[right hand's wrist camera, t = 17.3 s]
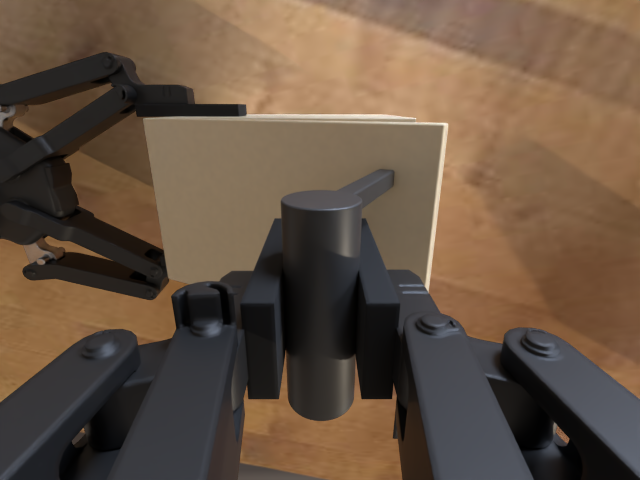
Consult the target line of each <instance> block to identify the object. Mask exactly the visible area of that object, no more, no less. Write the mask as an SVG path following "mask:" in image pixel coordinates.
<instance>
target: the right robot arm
mask: <svg viewBox="0 0 640 480" xmlns="http://www.w3.org/2000/svg"><path fill="white" fill-rule="evenodd" d="M171 298H172V304H173V310H174V316H175V323H176V331H175V333H174V335H173V337H172V338H171V339H167V340H163V341H159V342H154V343H148V344H143V345H138V342H137V337H136V335H135V334H134V333H132V332H131V331H128V330H124V329H113V330H112V329H110V330H104V331H100V332H96V333H94V334H92V335H90V336H87V337H85V338H83V339H81V340H80V341H78V342H77V343H75V344H73V345H72V346H71V347H69V348H68V349H67V350H66V351H64V352H63V353H62V354H61V355H59V356H58V357H57V358H56V359H54V360H53V361H52V362H51V363H49V364H48V365H47V366H46V367H44V368H43V369H42V370H41V371H39V372H38V373H37V374H36V375H34V376H33V377H32V378H30V379H29V380H28V381H27V382H25V383H24V384H23V385H22V386H20V387H19V388H18V389H17V390H15V391H14V392H13V393H12V394H10V395H9V396H8V397H7V398H5V399H4V400H3V401H2V402H0V480H238V471H239V462H240V453H241V444H242V435H243V426H244V417H245V411H244V400H243V397H244V394H245V390H246V386H247V388H248V399H279V394H280V387H281V380H282V373H283V365H284V358H285V351H286V333H285V306H284V279H283V252H282V225H281V218H275V219H274V221H273V224H272V226H271V229H270V231H269V234H268V236H267V238H266V241H265V243H264V246H263V248H262V251H261V253H260V256H259V258H258V261H257V263H256V265H255V268H254V270H253V271H231V272H229V273H228V274H226V275H225V276H223V277H222V278H221V279H220V281H204V282H196V283H193V284H190V285H187V286H184V287H182V288H181V289H179V290H177V291H176V292H175V293H174V294H173V295H172V296H171ZM355 355H356V362H357V370H358V377H359V384H360V391H361V398H362V399H392V393H393V383H394V386H395V390H396V394H397V400H396V411H395V422H394V432H393V438H394V439H398V443H399V452H400V461H401V470H402V479H403V480H640V399H639V398H637V397H636V396H635V395H633V394H632V393H631V392H630V391H628V390H627V389H626V388H625V387H623V386H622V385H621V384H620V383H618V382H617V381H616V380H614V379H613V378H612V377H611V376H609V375H608V374H607V373H606V372H604V371H603V370H602V369H600V368H599V367H598V366H597V365H595V364H594V363H593V362H592V361H590V360H589V359H588V358H587V357H585V356H584V355H583V354H581V353H580V352H579V351H578V350H576V349H575V348H574V347H573V346H571V345H570V344H569V343H567V342H566V341H564V340H562V339H561V338H559V337H558V336H555V335H553V334H550V333H548V332H546V331H544V330H540V329H536V328H515V329H510V330H509V331H508V332H507V333H505V335H504V340H503V344H500V343H495V342H490V341H485V340H480V339H476V338H472V337H469V336H467V335H466V332H465V330H464V328H463V327H462V326H461V325H460V323H459V322H458V321H456V320H455V319H453V318H451V317H450V316H447V315H444V314H441V313H440V311H439V310H438V308H437V306H436V304H435V303H434V301H433V299H432V298H431V296H430V294H428V291H427V289H426V287H424V284H423V282H422V280H421V279H420V277H419V276H418V275H416V274H415V273H413V272H412V271H410V270H387V269H386V267H385V264H384V262H383V259H382V257H381V255H380V252H379V250H378V247H377V245H376V242H375V240H374V237H373V235H372V232H371V230H370V228H369V225H368V223H367V220H366V218H362V223H361V246H360V268H359V276H358V300H357V324H356V348H355ZM557 425H558V426H559V428H560V429H561V430H562V431H563V432H564V433H565V434H566V435H567V436H568V437H569V439H570V440H569V443H568V444H567V443H565V442H564V441H563V440H562V439H561V438H560V437H559V436H558V434H557V433H556V429H557ZM83 427H84V430H85V435H84V436H83V437H82V438H81V439H80V440H79V441H78V442H77V443H76V444H75V445H73V444H72V440H73V439H74V437H75V436H76V435H77V434H78V433H79V432H80V431H81V430H82V429H83Z"/></svg>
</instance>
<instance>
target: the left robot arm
mask: <svg viewBox="0 0 640 480" xmlns="http://www.w3.org/2000/svg"><path fill="white" fill-rule="evenodd" d="M108 83H112V85H111V86H112V87H114V88H113V89H111V90H110V91H108V92H107V93H105V94H104V95H102V96H101V97H99V98H98V99H96V100H95V101H93V102H92V103H90V104H89V105H87V106H86V107H84V108H83V109H81V110H80V111H78V112H77V113H75V114H74V115H72V116H71V117H69V118H68V119H66V120H65V121H63V122H62V123H60V124H59V125H57V126H56V127H54V128H53V129H51V130H50V131H48V132H47V133H45V134H44V135H42V136H39V137H36V138H32V137H31V136H29V135H27V134H26V133H24V132H23V131H21V130H19V129H18V128H16V127H14V126H13V120H14V119H15V118H17V117H21V116H23V115H24V114H25V112H27V111H28V110H29V107H28V105H37V104H43V103H47V102H50V101H54V100H57V99H60V98H63V97H67V96H70V95H73V94H76V93H79V92H83V91H86V90H89V89H92V88H96V87H99V86H102V85H105V84H108ZM135 111H136V115H137V117H240V116H247V113H246V105H243V104H195V101H194V92H193V89H191V88H189V87H186V86H182V85H145V84H144V83H142V82H141V81H140V79H139V78H138V76H137V74H136V66H135V64H134V62H133V61H132V60H131V59H130V58H127V57H123V56H119V55H116V54H112V53H108V52H103V53H100V54H96V55H93V56H90V57H87V58H84V59H81V60H78V61H74V62H71V63H68V64H65V65H62V66H59V67H56V68H52V69H49V70H46V71H43V72H40V73H37V74H34V75H30V76H27V77H24V78H21V79H18V80H15V81H12V82H8V83H5V84H0V239H7V240H10V241H12V242H14V243H17V244H20V245H23V246H24V249H25V252H26V254H27V257H28V259H29V262H30V264H29V265H27V266H25V267H24V268H23V275H24V276H25V277H26V278H27V279H29V280H45V279H59V280H64V281H68V282H72V283H77V284H81V285H86V286H90V287H94V288H99V289H103V290H107V291H112V292H116V293H121V294H125V295H129V296H134V297H138V298H143V299H147V300H153V299H155V298H156V297H157V296H158V294H159V293H160V292H161V291H162V290H163V289H164V287H165V286H166V285H167V284H168V282H169V278H168V273H167V267H166V261H165V255H164V250H162V249H160V248H158V247H156V246H154V245H152V244H150V243H147V242H145V241H143V240H141V239H139V238H137V237H135V236H133V235H131V234H128V233H126V232H124V231H122V230H120V229H118V228H116V227H114V226H111V225H109V224H107V223H105V222H103V221H101V220H99V219H97V218H95V217H94V214H93V213H91V212H89V211H87V210H85V209H83V208H81V207H79V206H77V205H79V202H78V198H77V194H76V192H75V190H74V188H73V187H72V184H71V179H72V173H71V169H70V164H69V163H65V161H64V159H65V158H67V157H68V156H70V155H71V154H73V153H75V152H76V151H78V150H79V147H81V146H82V145H84V144H85V143H87V142H88V141H90V140H92V139H93V138H95V137H96V136H98V135H99V134H101V133H102V132H104V131H105V130H107V129H109V128H110V127H112V126H113V125H115V124H116V123H118V122H119V121H121V120H122V119H124V118H126V117H127V116H129V115H130V114H132V113H133V112H135ZM47 236H50V237H53V238H55V239H57V240H60V241H71V242H74V243H76V244H78V245H80V246H82V247H85V248H87V249H89V250H91V251H93V252H96V253H98V254H100V255H102V256H104V257H106V258H109V259H111V260H113V261H111V260H107V259H103V258H98V257H94V256H90V255H86V254H81V253H75V252H65V249H64V248H63V247H59V248H58V247H54V246H50V245H48V244H47V243H46V242H45V240H44V238H46V237H47Z"/></svg>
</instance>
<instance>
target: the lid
mask: <svg viewBox="0 0 640 480" xmlns="http://www.w3.org/2000/svg"><path fill="white" fill-rule="evenodd" d="M143 123H144V130H145V136H146V142H147V148H148V155H149V161H150V167H151V173H152V180H153V186H154V192H155V198H156V205H157V211H158V217H159V223H160V230H161V236H162V242H163V248H164V255H165V261H166V267H167V273H168V278H169V279H171V280H175V281H179V282H183V283H187V284H193V283H196V282H204V281H220V279H221V278H222V277H223V276H225V275H226V274H228V273H229V272H231V271H253V270H254V268H255V265H256V263H257V261H258V258H259V256H260V253H261V251H262V248H263V246H264V243H265V241H266V238H267V236H268V234H269V231H270V229H271V226H272V224H273V221H274V219H275V218H281V225H282V252H283V279H284V306H285V333H286V360H287V387H288V400H289V403H290V405H291V407H292V408H293V409H294V411H295V412H297V413H298V414H299V415H301V416H302V417H305V418H307V419H310V420H315V421H326V420H332V419H335V418H338V417H340V416H341V415H343V414H344V413H345V412H347V411H348V409H349V408H350V407H351V405H352V403H353V400H354V383H355V360H356V355H355V348H356V324H357V300H358V276H359V268H360V246H361V223H362V218H366V220H367V223H368V225H369V228H370V230H371V232H372V235H373V237H374V240H375V242H376V245H377V247H378V250H379V252H380V255H381V257H382V259H383V262H384V264H385V267H386V269H387V270H410V271H412V272H413V273H415V274H416V275H418V276H419V277H420V279H421V280H422V282H423V284H424V287H426V289H427V291H429V283H430V275H431V266H432V258H433V250H434V241H435V233H436V224H437V216H438V208H439V199H440V191H441V183H442V174H443V166H444V157H445V149H446V141H447V132H448V123H426V122H370V121H315V120H259V119H203V118H144V119H143Z"/></svg>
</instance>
